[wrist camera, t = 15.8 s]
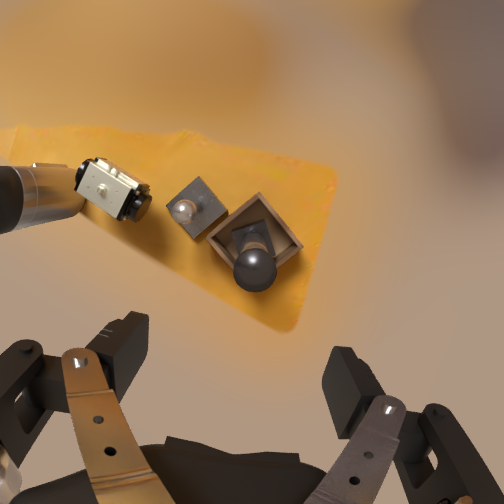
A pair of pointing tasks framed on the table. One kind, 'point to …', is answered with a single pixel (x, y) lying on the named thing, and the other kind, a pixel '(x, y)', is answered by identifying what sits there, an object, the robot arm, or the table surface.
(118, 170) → the pneumatic rotary actuator
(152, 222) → the table surface
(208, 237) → the bin
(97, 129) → the table surface
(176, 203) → the stud mount
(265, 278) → the strut
